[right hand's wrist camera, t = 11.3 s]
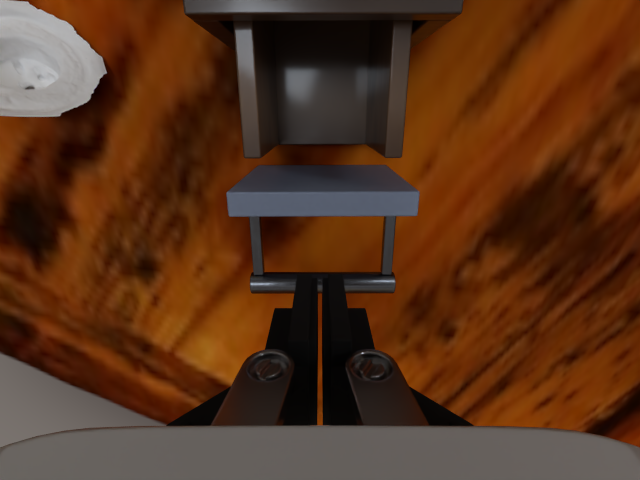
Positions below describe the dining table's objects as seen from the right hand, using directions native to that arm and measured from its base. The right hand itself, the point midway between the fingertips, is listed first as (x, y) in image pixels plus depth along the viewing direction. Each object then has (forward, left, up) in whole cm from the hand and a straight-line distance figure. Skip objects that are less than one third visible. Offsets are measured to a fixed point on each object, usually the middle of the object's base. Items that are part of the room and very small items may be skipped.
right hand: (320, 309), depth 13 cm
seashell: (+8, +18, -14) cm, 25 cm away
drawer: (+5, 0, -13) cm, 14 cm away
